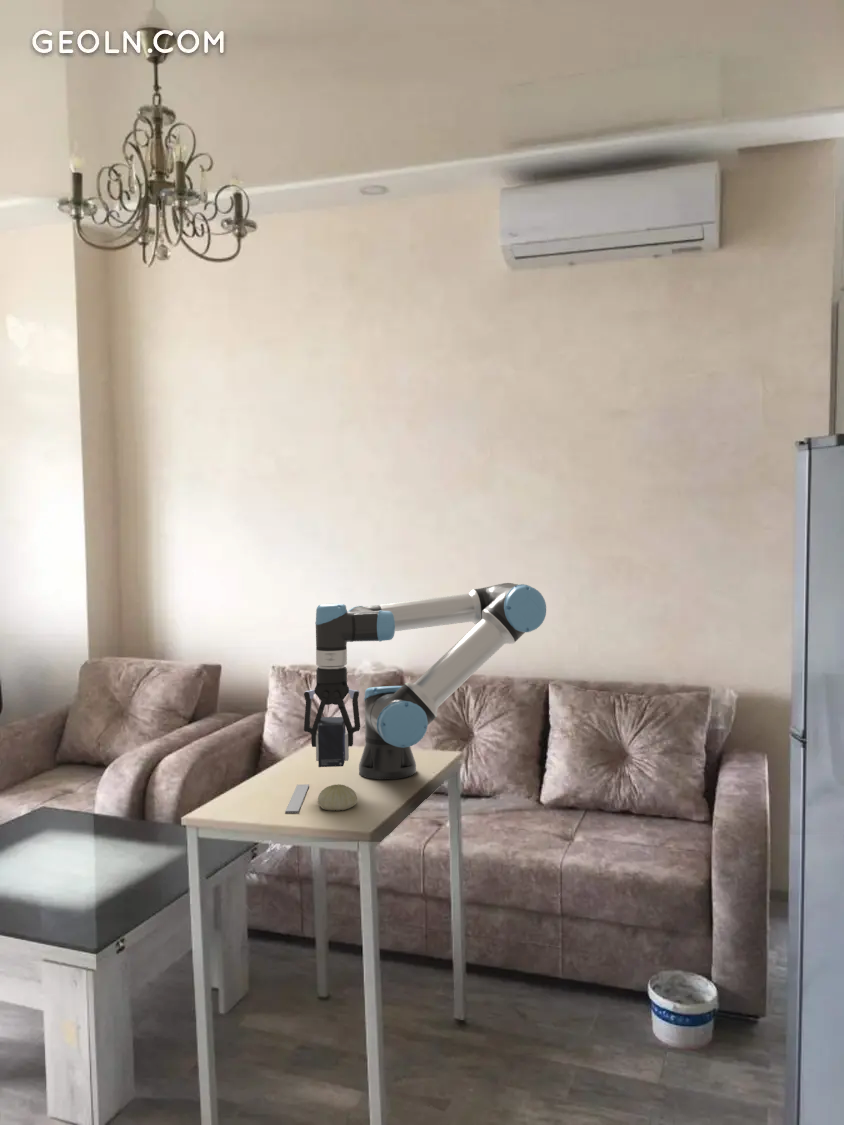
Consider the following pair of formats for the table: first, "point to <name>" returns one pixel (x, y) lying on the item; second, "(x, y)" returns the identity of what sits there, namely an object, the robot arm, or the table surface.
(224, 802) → the table surface
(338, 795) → the sea urchin shell
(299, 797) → the gray strip
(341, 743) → the small box
